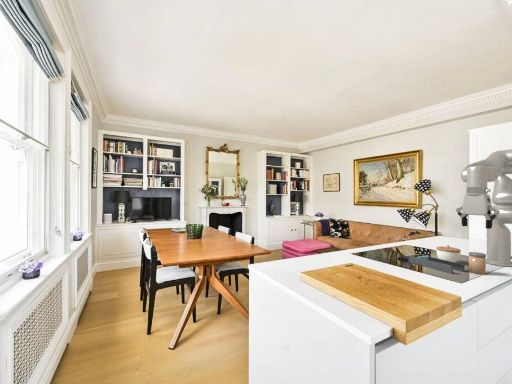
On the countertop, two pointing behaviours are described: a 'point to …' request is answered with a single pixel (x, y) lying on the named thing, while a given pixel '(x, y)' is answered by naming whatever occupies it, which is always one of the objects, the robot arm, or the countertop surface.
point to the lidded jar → (448, 253)
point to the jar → (477, 263)
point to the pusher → (424, 257)
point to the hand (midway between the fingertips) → (476, 227)
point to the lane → (436, 263)
